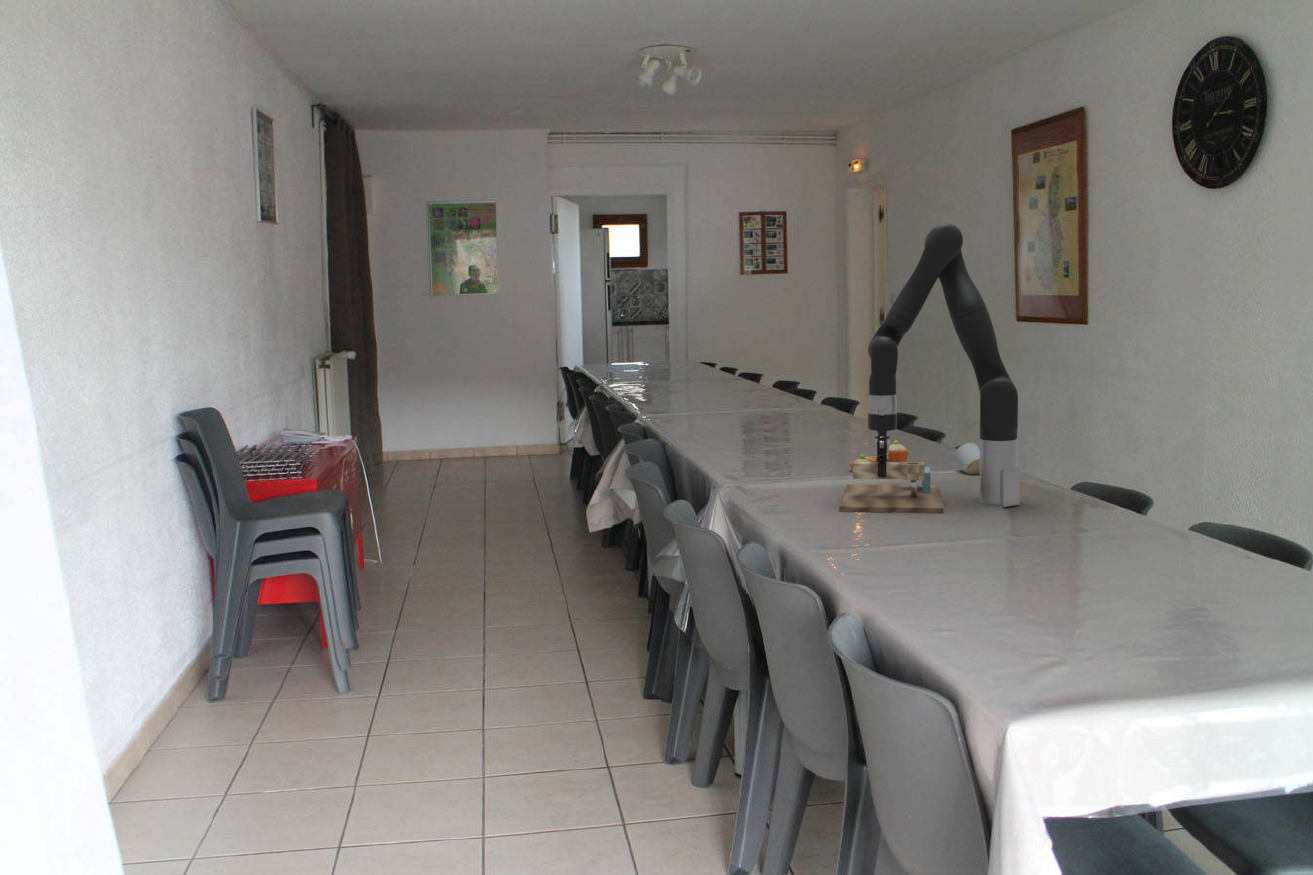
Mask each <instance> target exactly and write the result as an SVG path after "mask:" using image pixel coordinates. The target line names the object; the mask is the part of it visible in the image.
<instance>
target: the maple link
mask: <svg viewBox="0 0 1313 875" xmlns="http://www.w3.org/2000/svg"><path fill="white" fill-rule="evenodd" d="M853 462H854V463H853V472H852V479H853V480H855V479H856V480H857V479H858V480H901V481H911V480H917V481H922V480H925V467H926V463H925V461H907V462H887V463H886V477H878V463H877V462H855V461H853Z"/></svg>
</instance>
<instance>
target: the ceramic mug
mask: <svg viewBox="0 0 1313 875" xmlns="http://www.w3.org/2000/svg"><path fill="white" fill-rule="evenodd" d="M954 457H955V460H956V461H957V462H958V464H959V466H960V467H961V468H962V470H963V471H964V473H966V474H967V475H980V446H978V444H976V443H974V442H967V443H964V444H963V445H961V446H959V447H958V448H957V450H956V451H955V453H954Z"/></svg>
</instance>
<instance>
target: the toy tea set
mask: <svg viewBox="0 0 1313 875" xmlns="http://www.w3.org/2000/svg"><path fill="white" fill-rule="evenodd" d="M908 455H910V450H908V449H907V448H906V447H905V446H903V444H900V443H899V440H897V439H896V440H894V441H893V443H892V444H889V454H888V456H887V457H888V459H887V462H908ZM854 462H877V455H874V456H871V455H870V456H865V454H863V453H861V454H860V455H859V458H857V459H856V460H854V461H850V462H849V466H850V472H851V471H852V472H851V473H853V463H854Z"/></svg>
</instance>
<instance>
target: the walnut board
mask: <svg viewBox="0 0 1313 875" xmlns="http://www.w3.org/2000/svg"><path fill="white" fill-rule="evenodd" d="M840 501H841V502H840V504H839V512H847V513H848V512H850V513H851V512H853V513H854V512H855V513H856V512H858V513H860V512H862V513H863V512H865V513H921V514H922V513H923V514H925V513H930V514H934V513H935V514H943V513H944V506H943V505H944V504H943V501H942V495H941V490H940V485H938V484H937V485H936V484H935V485H934V484H930V493H923V492H922V484H917V497H911V484H846V486H845V490H844V493H843V496H842V498H841V500H840Z"/></svg>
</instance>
